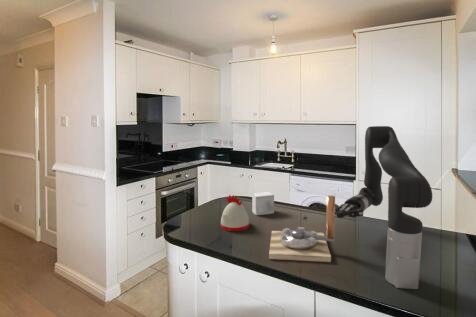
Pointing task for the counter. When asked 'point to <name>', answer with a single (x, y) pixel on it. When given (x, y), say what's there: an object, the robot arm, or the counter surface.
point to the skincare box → (263, 203)
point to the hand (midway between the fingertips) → (338, 215)
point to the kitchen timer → (234, 216)
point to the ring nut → (309, 239)
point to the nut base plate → (284, 253)
